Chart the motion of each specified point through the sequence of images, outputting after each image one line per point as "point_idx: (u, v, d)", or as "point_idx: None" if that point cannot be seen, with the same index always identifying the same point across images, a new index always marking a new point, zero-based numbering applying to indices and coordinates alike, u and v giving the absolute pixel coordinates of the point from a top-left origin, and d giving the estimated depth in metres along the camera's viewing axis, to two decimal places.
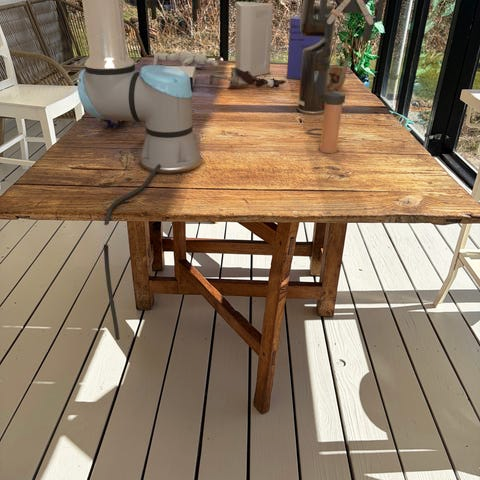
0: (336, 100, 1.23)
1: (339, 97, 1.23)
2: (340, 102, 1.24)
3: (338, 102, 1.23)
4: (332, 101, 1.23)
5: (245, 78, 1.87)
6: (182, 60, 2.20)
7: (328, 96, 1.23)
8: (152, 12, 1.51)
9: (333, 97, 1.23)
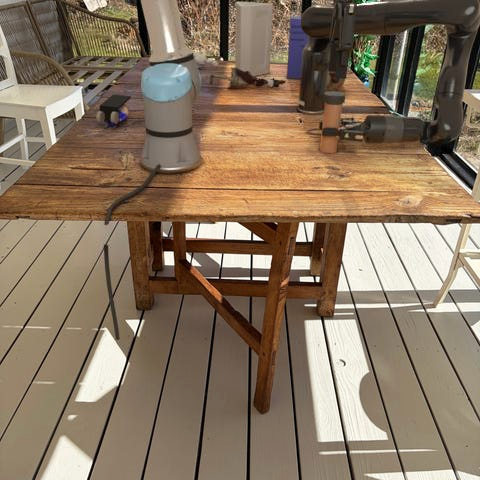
0: (336, 100, 1.23)
1: (339, 97, 1.23)
2: (340, 102, 1.24)
3: (338, 102, 1.23)
4: (332, 101, 1.23)
5: (245, 78, 1.87)
6: None
7: (328, 96, 1.23)
8: None
9: (333, 97, 1.23)
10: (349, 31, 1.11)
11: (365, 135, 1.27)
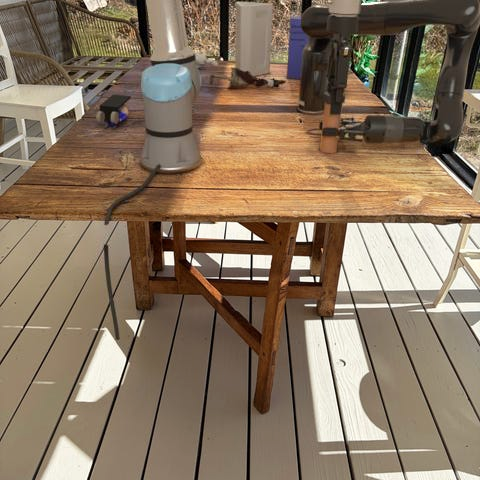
0: None
1: None
2: None
3: None
4: None
5: (245, 78, 1.87)
6: None
7: (328, 96, 1.23)
8: None
9: None
10: (343, 72, 1.16)
11: (365, 135, 1.27)
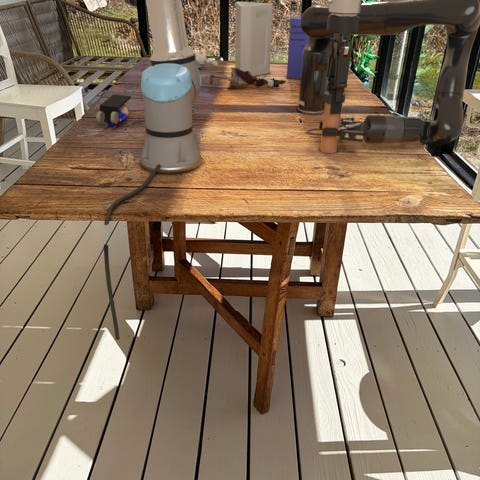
0: None
1: None
2: None
3: None
4: None
5: (245, 78, 1.87)
6: None
7: None
8: None
9: None
10: (344, 71, 1.16)
11: (365, 135, 1.27)
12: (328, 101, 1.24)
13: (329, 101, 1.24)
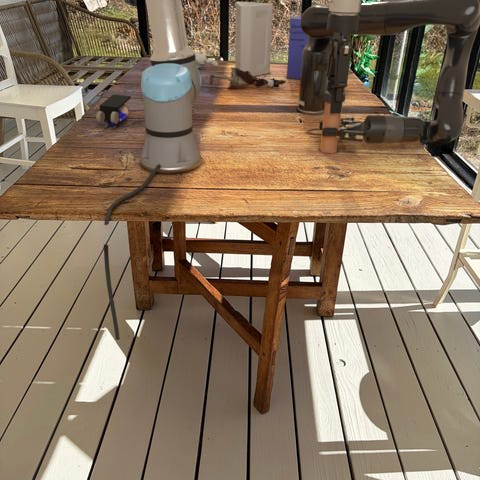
0: None
1: None
2: None
3: None
4: None
5: (245, 78, 1.87)
6: None
7: None
8: None
9: None
10: (344, 71, 1.16)
11: (365, 135, 1.27)
12: (344, 99, 1.25)
13: None
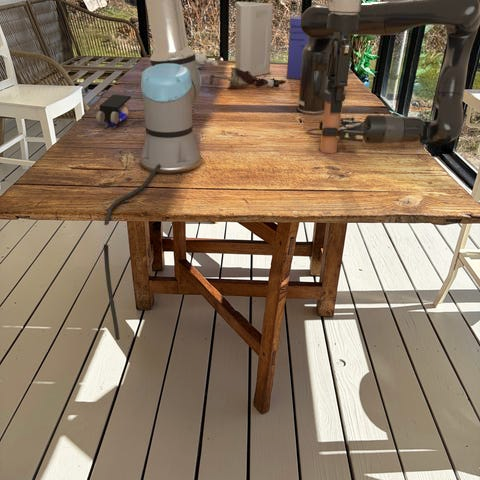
0: None
1: None
2: None
3: None
4: (331, 99, 1.23)
5: (245, 78, 1.87)
6: None
7: (327, 94, 1.23)
8: None
9: None
10: (344, 70, 1.16)
11: (365, 135, 1.27)
12: None
13: None
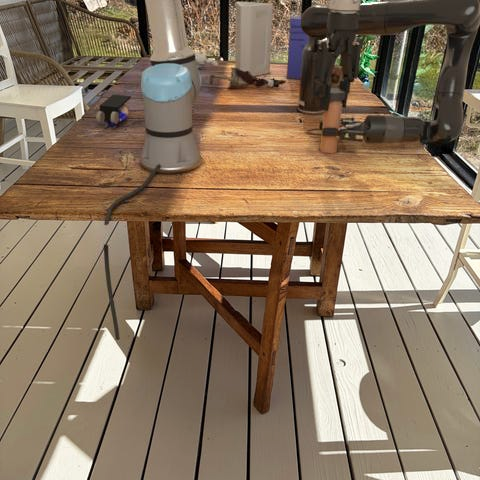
0: None
1: None
2: None
3: None
4: None
5: (245, 78, 1.87)
6: None
7: (344, 92, 1.24)
8: None
9: None
10: None
11: (365, 135, 1.27)
12: None
13: None
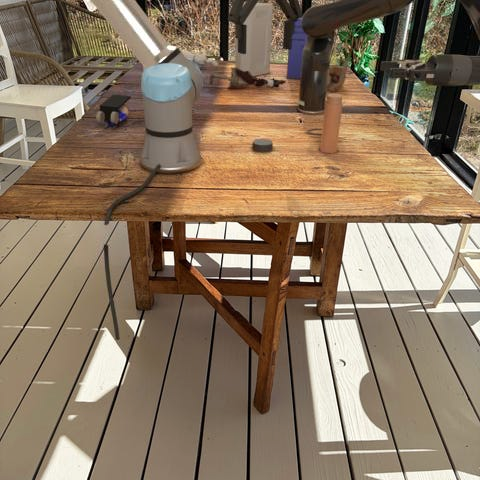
0: None
1: None
2: None
3: None
4: (272, 146, 1.33)
5: (245, 78, 1.87)
6: None
7: (271, 144, 1.31)
8: None
9: None
10: None
11: None
12: (255, 149, 1.31)
13: (256, 149, 1.31)
